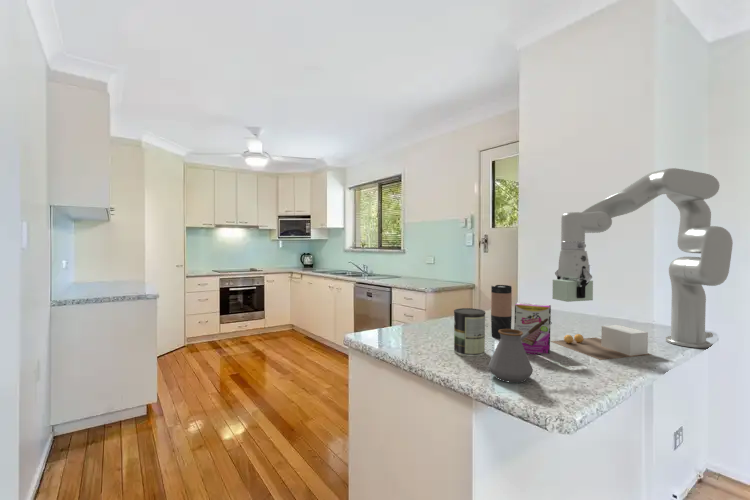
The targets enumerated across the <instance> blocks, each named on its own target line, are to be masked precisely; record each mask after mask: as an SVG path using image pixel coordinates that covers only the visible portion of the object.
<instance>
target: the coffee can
mask: <svg viewBox="0 0 750 500" xmlns="http://www.w3.org/2000/svg"><path fill="white" fill-rule="evenodd" d="M453 314H454V317H453V318H454V319H453V326H454V327H453V330H454V331H453V332H454V333H453V337H454V338H453V353H455V354H456V355H459V356H463V357H468V358H476V357H482V356H484V355H486V350H485V348H486V346H485V345H486V343H485V342H486V341H485V340H486V339H485V338H486V328H485V327H486V311H485V310H483V309H478V308H473V307H472V308H468V307H467V308H466V307H463V308H456V309H454V310H453Z"/></svg>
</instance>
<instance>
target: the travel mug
mask: <svg viewBox="0 0 750 500" xmlns="http://www.w3.org/2000/svg"><path fill="white" fill-rule="evenodd" d="M490 288H491V289H490V290H491V293H490V295H491V296H490V300H491V301H490V303H491V304H490V322H491V323H490V324H491V325H490V327H491V328H490V329H491V331H490V332H491V337H492V338H494V339H498V340H500V339H501V337H500V333H499V332H498V330H500V329H512V317H513V316H512V311H513V310H512V306H513V305H512V299H513V297H512V294H513V293H512V291H513V290H512V285H507V284H496V285H495V286H493V285H491V287H490Z"/></svg>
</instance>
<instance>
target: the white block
mask: <svg viewBox="0 0 750 500" xmlns="http://www.w3.org/2000/svg"><path fill="white" fill-rule="evenodd" d="M600 337H601V338H600V339H601V346H602V347H605V348H608V349H612V350H615V351H618V352H621V353H624V354H627V355H630V356H632V355H642V354H648V352H649V351H648V350H649V349H648V347H649V338H648V337H649V332H648V331H643V330H640V329H635V328H631V327H628V326H623V325H619V324H613V325H602V326H601V336H600Z"/></svg>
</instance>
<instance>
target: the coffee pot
mask: <svg viewBox="0 0 750 500" xmlns="http://www.w3.org/2000/svg"><path fill="white" fill-rule="evenodd" d="M547 321H548V318H547V319H544V321H541V322H540V323H539V324H537V325H535V326H534V327H533V328H532V329H530V330H529V331H528V332H527V333H526V334H524V335H523V332H522V331H519V330H515V329H514V328H511V329H500V330H498V332H499V333H500V337H501V339H499V341H498V343H497V345H496V348H495V349H494V352H493V355H492V356H491V358H490V361H489V363H488V369H489V371H490V373H491V374H492V375H493V376H495V378H496V377H497V378H499V379H501V380H504V381H509V382H521V383H523V382H522V381H524V380H525V381H526V380H528V379H529V378H530V377H531V376H532V374H533V369H534V368H533V367H532V364H531V362H530V359H529V357H528V355H527V354H526V352H525V350H524V347H523V345H522V343H521V341H522V340H523V339H524V338H525V337H527V336H528V335H530V334H531V333H533V332H534V331H536V330H537V329H539V328H540V327H541V326H542V325H544V324H545V323H546V322H547ZM549 321H550V320H549ZM550 322H551V324H548V325H550V326H551V325H552V323H553V322H552V321H550ZM546 324H547V323H546ZM521 335H523V336H521ZM497 378H496V379H497ZM499 379H498V380H499ZM501 380H500V381H501ZM504 381H503V382H504ZM525 381H524V382H525ZM509 382H508V383H509Z"/></svg>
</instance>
